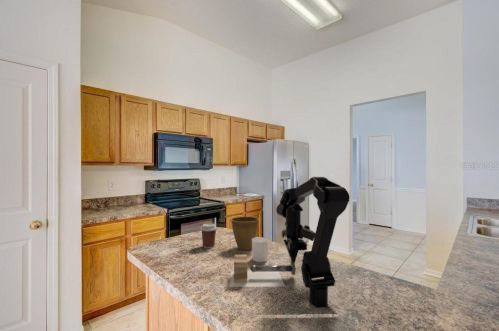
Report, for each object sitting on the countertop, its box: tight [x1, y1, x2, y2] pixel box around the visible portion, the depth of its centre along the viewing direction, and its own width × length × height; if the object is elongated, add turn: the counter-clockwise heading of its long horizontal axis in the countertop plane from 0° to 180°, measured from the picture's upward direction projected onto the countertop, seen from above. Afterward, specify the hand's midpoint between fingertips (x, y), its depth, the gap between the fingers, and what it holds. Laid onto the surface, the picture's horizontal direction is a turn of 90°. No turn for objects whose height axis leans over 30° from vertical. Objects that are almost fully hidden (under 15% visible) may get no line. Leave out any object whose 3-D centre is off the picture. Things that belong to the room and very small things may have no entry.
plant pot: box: [230, 216, 259, 251], centre depth 129 cm, size 15×15×16 cm
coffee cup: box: [200, 223, 218, 249], centre depth 131 cm, size 9×9×12 cm
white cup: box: [251, 236, 269, 263], centre depth 111 cm, size 8×8×10 cm
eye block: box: [233, 254, 248, 283], centre depth 92 cm, size 8×5×8 cm, turn 2°
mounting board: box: [228, 269, 286, 288], centre depth 92 cm, size 14×20×1 cm
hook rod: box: [250, 259, 296, 276], centre depth 92 cm, size 5×18×9 cm, turn 92°
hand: (292, 261), depth 92 cm, fingers closed on hook rod, 2 cm apart
